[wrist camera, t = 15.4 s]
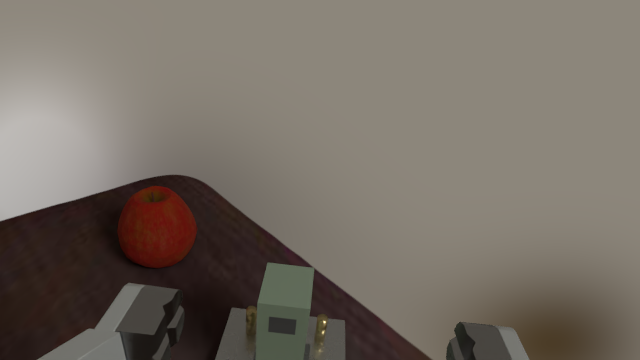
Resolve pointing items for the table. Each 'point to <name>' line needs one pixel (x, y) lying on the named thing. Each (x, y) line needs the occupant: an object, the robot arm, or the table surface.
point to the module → (283, 312)
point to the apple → (156, 228)
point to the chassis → (241, 330)
